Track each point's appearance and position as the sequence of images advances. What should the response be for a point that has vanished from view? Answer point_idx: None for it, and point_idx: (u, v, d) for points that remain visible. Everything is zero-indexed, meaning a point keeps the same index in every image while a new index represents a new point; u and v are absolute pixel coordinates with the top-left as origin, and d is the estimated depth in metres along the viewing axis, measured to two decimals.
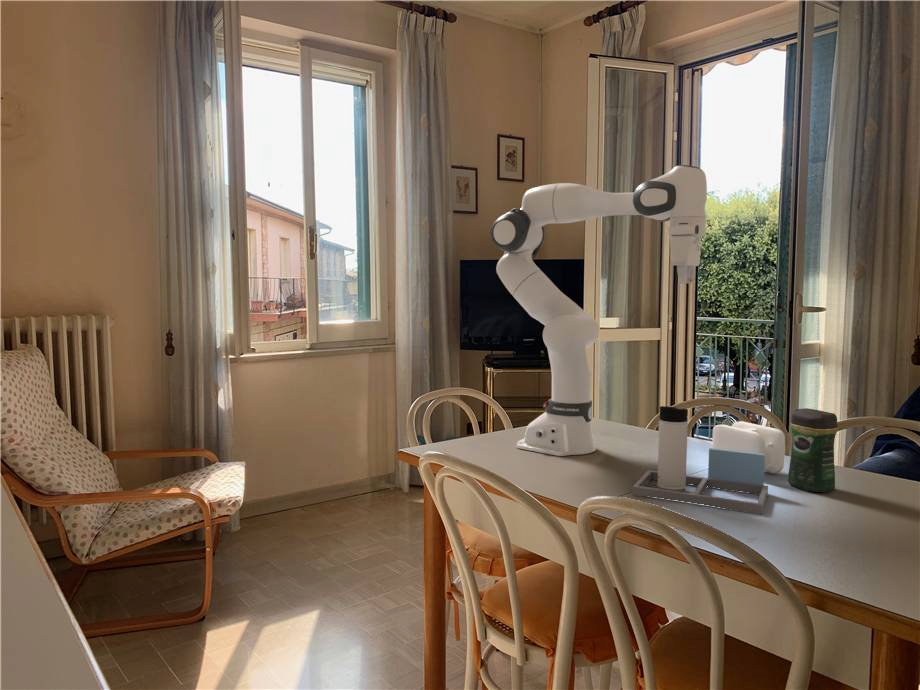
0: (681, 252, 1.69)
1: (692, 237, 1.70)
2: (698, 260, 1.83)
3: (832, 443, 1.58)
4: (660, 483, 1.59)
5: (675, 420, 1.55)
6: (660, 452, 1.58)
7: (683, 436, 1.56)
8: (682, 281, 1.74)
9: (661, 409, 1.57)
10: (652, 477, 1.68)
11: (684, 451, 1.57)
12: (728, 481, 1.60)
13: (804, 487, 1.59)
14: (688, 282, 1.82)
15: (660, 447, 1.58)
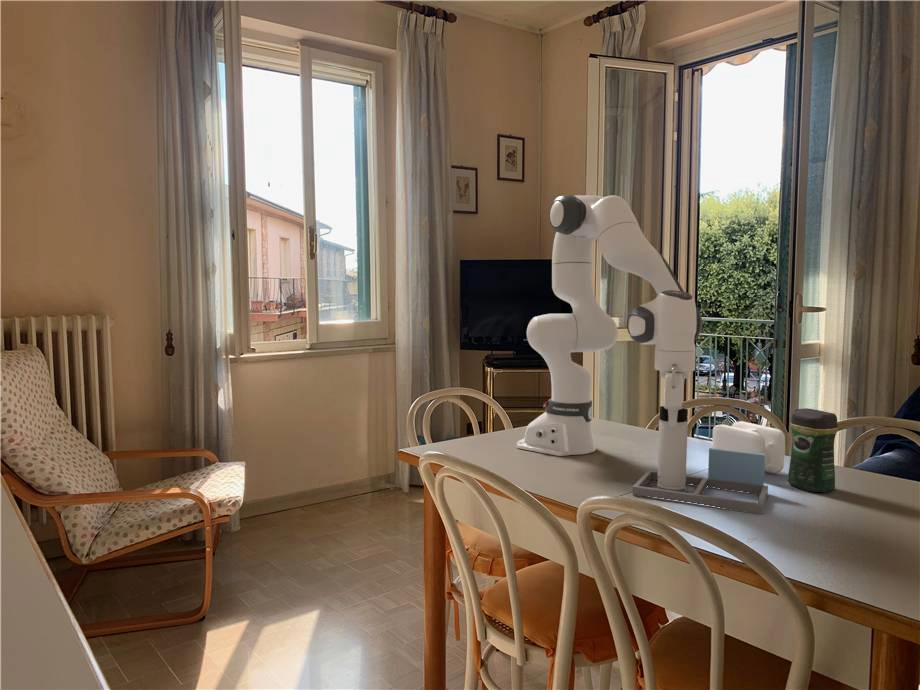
0: None
1: None
2: None
3: (832, 443, 1.58)
4: (660, 483, 1.59)
5: None
6: (660, 452, 1.58)
7: (683, 436, 1.56)
8: None
9: (661, 409, 1.57)
10: (652, 477, 1.68)
11: (684, 451, 1.57)
12: (728, 481, 1.60)
13: (804, 487, 1.59)
14: None
15: (660, 447, 1.58)
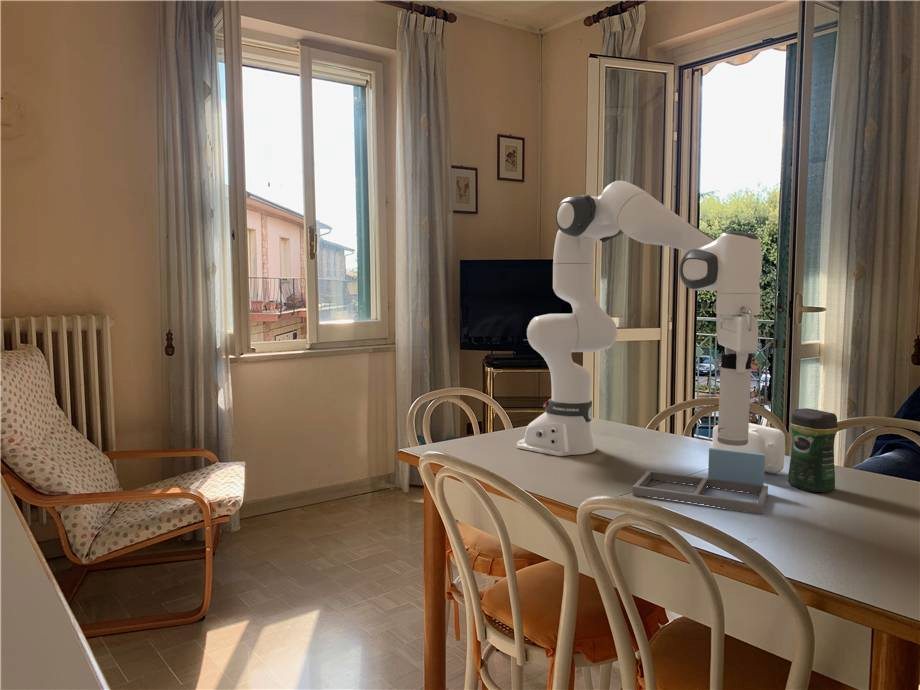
0: None
1: None
2: (736, 345, 1.43)
3: (832, 443, 1.58)
4: (723, 435, 1.51)
5: None
6: (723, 402, 1.50)
7: (748, 384, 1.49)
8: None
9: (725, 356, 1.49)
10: (652, 477, 1.68)
11: (749, 400, 1.50)
12: (728, 481, 1.60)
13: (804, 487, 1.59)
14: None
15: (723, 396, 1.50)
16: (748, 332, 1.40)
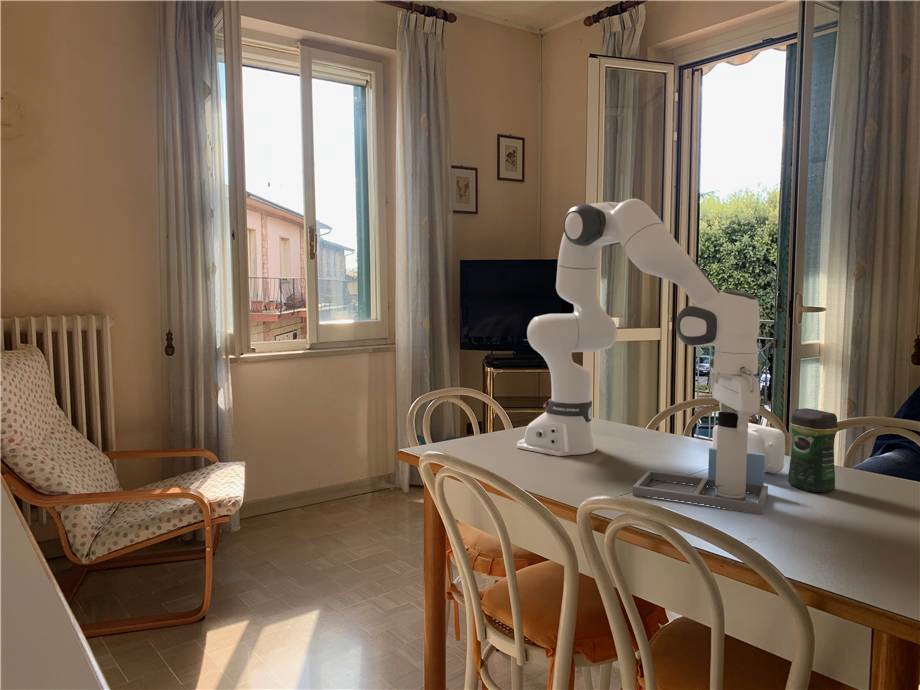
0: None
1: (712, 370, 1.59)
2: (737, 405, 1.44)
3: (832, 443, 1.58)
4: (722, 492, 1.52)
5: None
6: (722, 460, 1.51)
7: (746, 442, 1.50)
8: None
9: (723, 415, 1.51)
10: (652, 477, 1.68)
11: (746, 457, 1.51)
12: None
13: (804, 487, 1.59)
14: None
15: (721, 454, 1.51)
16: (750, 394, 1.42)
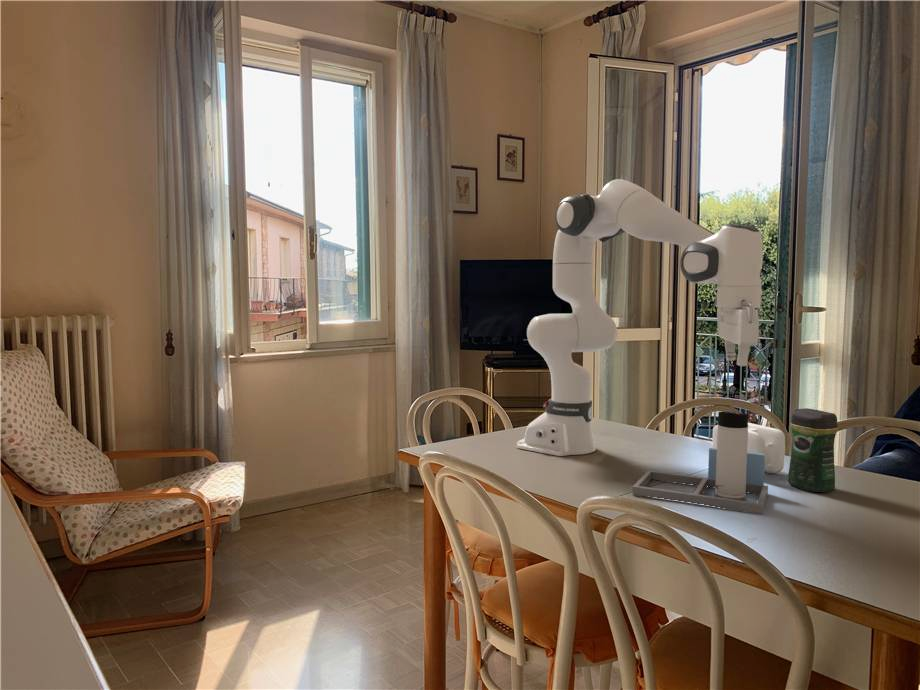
0: None
1: (717, 308, 1.57)
2: (736, 337, 1.43)
3: (832, 443, 1.58)
4: (722, 492, 1.52)
5: (739, 426, 1.49)
6: (722, 460, 1.51)
7: (746, 442, 1.50)
8: None
9: (723, 415, 1.51)
10: (652, 477, 1.68)
11: (746, 457, 1.51)
12: None
13: (804, 487, 1.59)
14: None
15: (721, 454, 1.51)
16: (749, 325, 1.40)
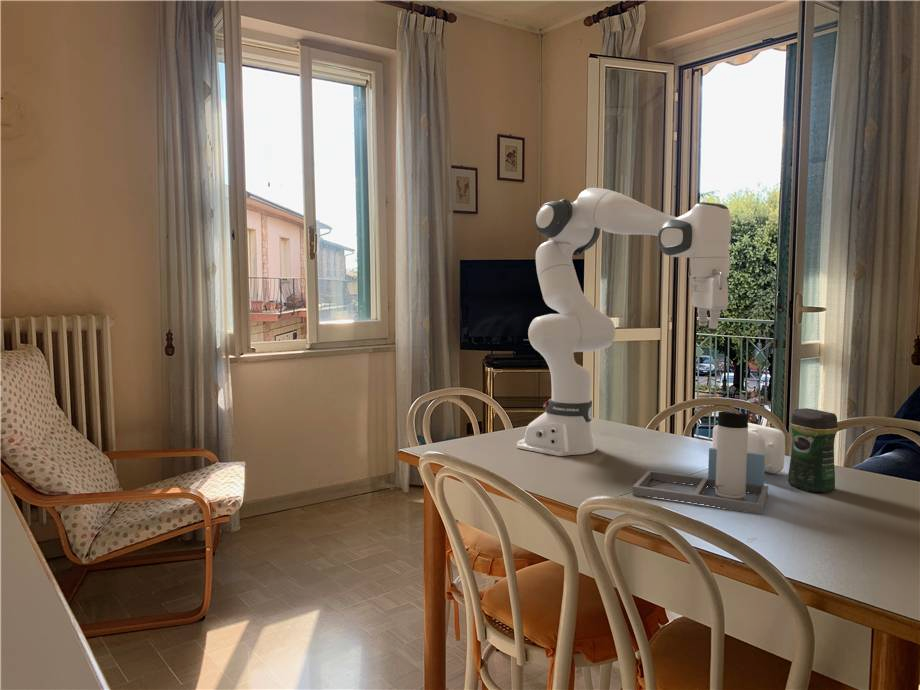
0: None
1: (691, 279, 1.75)
2: (708, 303, 1.61)
3: (832, 443, 1.58)
4: (722, 492, 1.52)
5: (739, 426, 1.49)
6: (722, 460, 1.51)
7: (746, 442, 1.50)
8: None
9: (723, 415, 1.51)
10: (652, 477, 1.68)
11: (746, 457, 1.51)
12: None
13: (804, 487, 1.59)
14: None
15: (721, 454, 1.51)
16: (719, 290, 1.58)
